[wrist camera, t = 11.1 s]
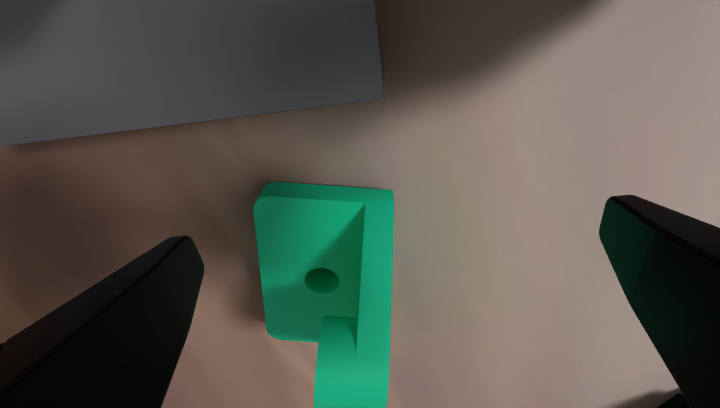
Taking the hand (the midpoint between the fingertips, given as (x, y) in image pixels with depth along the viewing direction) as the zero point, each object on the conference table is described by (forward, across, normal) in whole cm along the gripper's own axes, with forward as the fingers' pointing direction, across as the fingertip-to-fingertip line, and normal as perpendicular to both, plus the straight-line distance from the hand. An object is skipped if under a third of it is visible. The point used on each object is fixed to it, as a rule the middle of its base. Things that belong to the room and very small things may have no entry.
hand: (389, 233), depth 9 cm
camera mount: (+13, +5, +12) cm, 18 cm away
